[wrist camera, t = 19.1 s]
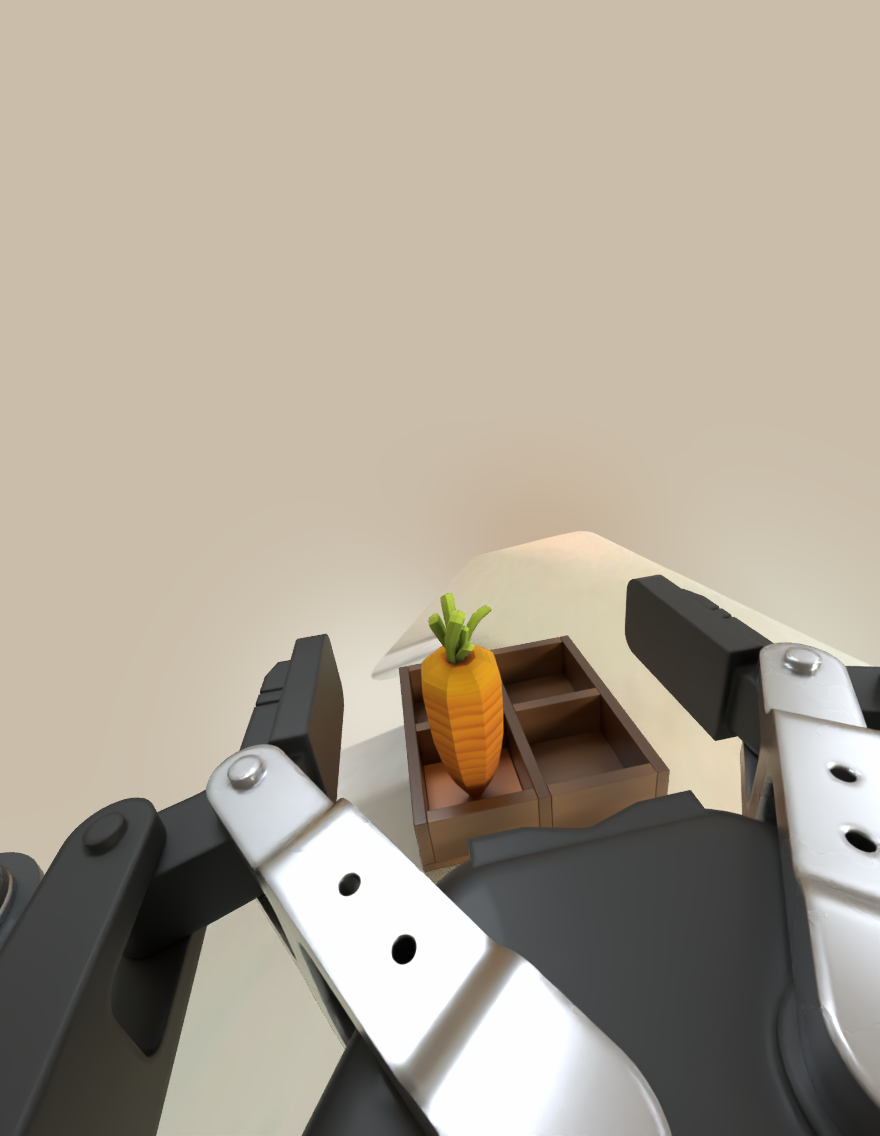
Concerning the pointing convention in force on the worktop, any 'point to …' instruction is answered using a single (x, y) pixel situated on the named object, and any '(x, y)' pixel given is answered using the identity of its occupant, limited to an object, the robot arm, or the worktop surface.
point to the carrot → (463, 700)
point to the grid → (532, 755)
